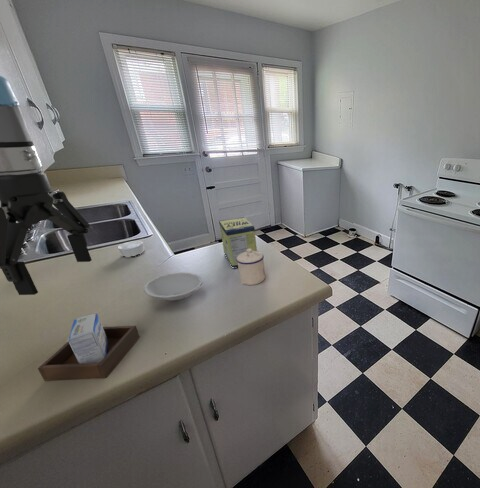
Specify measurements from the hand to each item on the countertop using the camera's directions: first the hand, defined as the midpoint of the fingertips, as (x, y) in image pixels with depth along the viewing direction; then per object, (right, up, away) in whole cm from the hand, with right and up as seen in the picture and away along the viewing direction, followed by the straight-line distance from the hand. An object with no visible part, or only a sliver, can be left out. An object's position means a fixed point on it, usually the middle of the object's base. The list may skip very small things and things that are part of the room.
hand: (59, 275), depth 57 cm
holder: (+2, -20, +7) cm, 21 cm away
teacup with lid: (+29, -6, +41) cm, 50 cm away
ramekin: (-27, +2, +59) cm, 65 cm away
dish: (+9, -10, +29) cm, 32 cm away
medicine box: (+2, -19, +7) cm, 21 cm away
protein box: (+21, 0, +55) cm, 59 cm away
